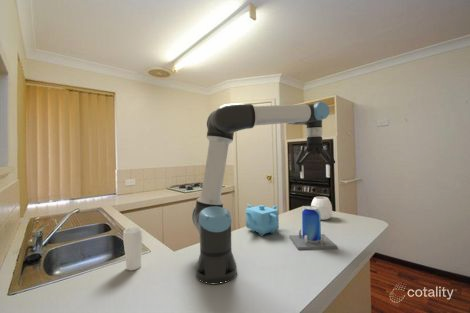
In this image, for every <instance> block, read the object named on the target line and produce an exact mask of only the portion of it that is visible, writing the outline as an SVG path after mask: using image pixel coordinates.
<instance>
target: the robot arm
mask: <svg viewBox="0 0 470 313" xmlns="http://www.w3.org/2000/svg"><path fill="white" fill-rule="evenodd" d="M329 115H330V107H329V105H328V103H327V102H325V101H320V102H319V101H318V102H315V103H305V104H304V103H303V104H300V103H298V104H281V105H278V104H277V105H256V106H255V105H253V104H252V103H226V104H223V105H221V106H219V107H218V108H217V109H215V110H213V111H212V112H211V113H210V114H209V116H208V117H207V120H206V129H207V131H206V138H207V140H208V141H209V142H208V149H207V155H206V161H205V162H206V163H205V168H204V174H203V180H202V187H201V194H200V196H199V197H198V198H196V202H195V207H194V208H193V210H192V214H191V220H192V223H193V225H194V227H195V228H196V230H197V231H198V234H199V250H200V252H199V257H198V260H197V263H196V267H195V277H196V276H197V277H196V279H197V278H198V279H199V280H198V279H197V280H198V281H200V280H201V281H203V282H207V283H220V282H225V281H228V280H230V279H232V278H233V277H234V276H235V275H236V276H237V272H238V271H237V270H238V268H237V262H236V260H235V258H234V255H233V252H232V251H233V250H232V217H231V212H230V211H229V209H227V208H226V207H224V201H223V199H222V198H221V197H222V190H223V184H224V180H225V179H224V178H225V173H226V167H227V166H226V165H227V158H228V152H229V146H230V144H231V143H233V141H234V134H235V133H236V132H239V131H243V130H249V129H250V130H251V129H253V128H255V126H265V125H278V124H279V125H280V124H288V125H292V126H294V125H296V126H297V125H299V126H300V125H301V126H302V125H305V126H306V146H305V145H302V146H300V149H299V150H300V151H299V153H298V155H297V157H296V159H295V161H294V164H295V165H297V167H298V172H299V174H300V179H304V178H305V176H304V174H305V172H304V165H303V164H304V163H305V162H306V160H307V159H308V158H309V157H310V156H311V155H312V156H313V155H319V156H320V157H321V158H322V159H323V161H325V163H326V164H325V177H326V178H331V171H332V165H333V164H336V161H335V159H334V157H333V155H332V152H331V151H330V146H329V145H323V137H322V136H323V120H325V119H327V118H328V117H329ZM323 150H324V152H325V153H324V152H323ZM305 151H306V153H305ZM304 153H305V154H304ZM325 154H326V155H325ZM303 155H304V156H303ZM236 276H235V277H236ZM235 277H234V278H235ZM234 278H233V279H234ZM233 279H232V280H233ZM201 281H200V282H201ZM230 281H231V280H230ZM203 282H202V283H203ZM228 282H229V281H228ZM225 283H226V282H225Z"/></svg>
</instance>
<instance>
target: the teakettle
mask: <svg viewBox="0 0 470 313" xmlns="http://www.w3.org/2000/svg"><path fill="white" fill-rule="evenodd" d="M246 206H247V208H245V211H244V212H243V214H245V221H246V222H245V223H246V224H245V228H247V229H250V232H251V231H252V232H251V233H256V232H257V233H258V236H259V235H262V236H261V237H264V236H265V234H269V232H270V234H273V233H275V231H278V230H279V228H280V227H279V224H280V223H279V219H280V218H279V210H278V209H277V207H278V206H279V205H277V204H276V205H273V206H272V207H269V206H265V205H264V204H259V205H257V206H252V205H251V204H249V203H247V204H246ZM255 231H256V232H255ZM263 235H264V236H263Z"/></svg>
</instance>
